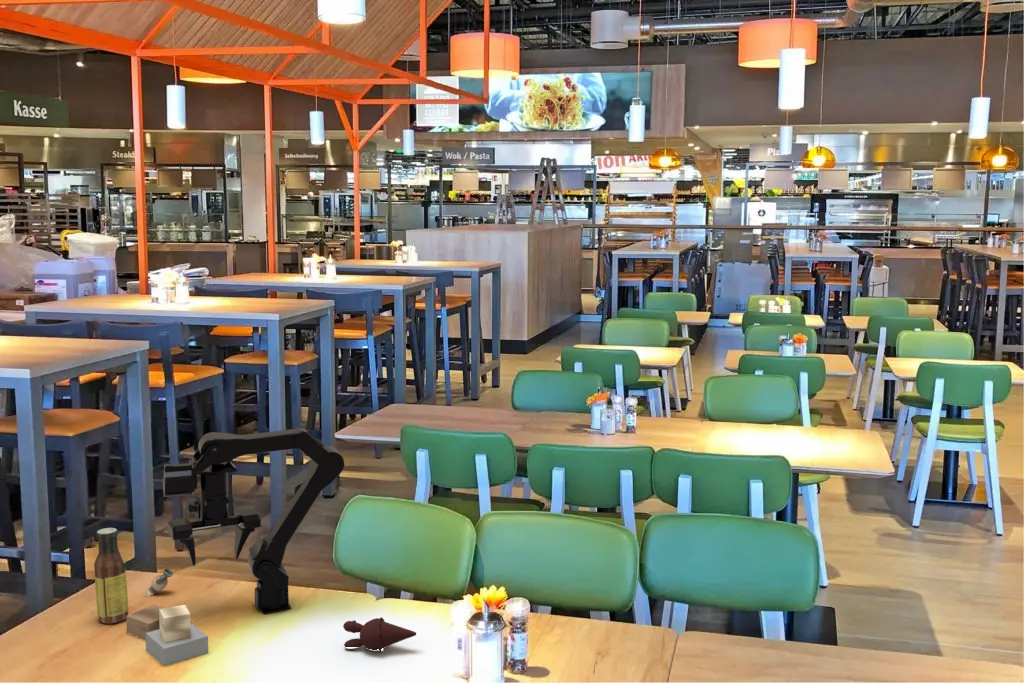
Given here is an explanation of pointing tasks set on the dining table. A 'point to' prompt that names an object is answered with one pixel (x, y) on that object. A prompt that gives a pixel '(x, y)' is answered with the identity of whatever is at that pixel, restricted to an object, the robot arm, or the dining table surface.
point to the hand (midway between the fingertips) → (215, 561)
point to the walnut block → (143, 621)
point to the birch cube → (174, 623)
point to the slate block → (176, 646)
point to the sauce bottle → (110, 579)
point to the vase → (159, 582)
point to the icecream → (376, 634)
